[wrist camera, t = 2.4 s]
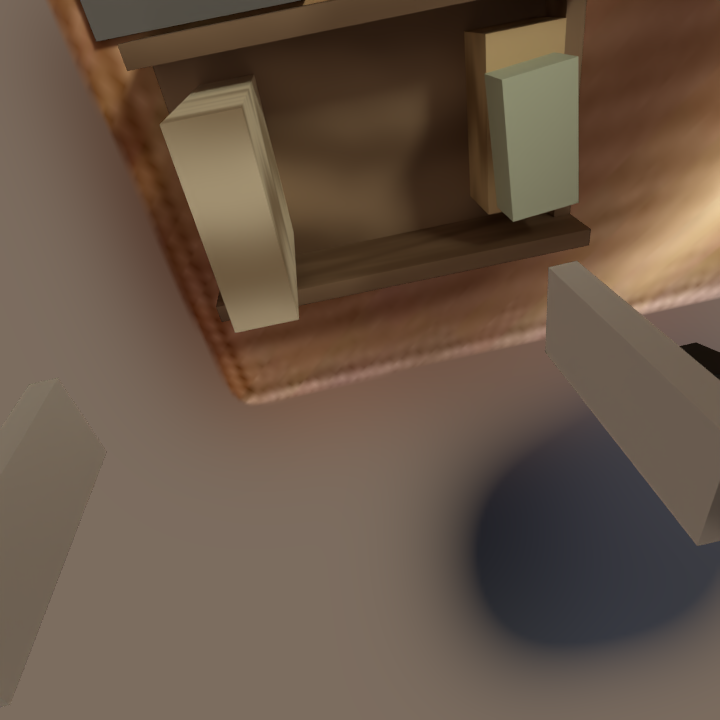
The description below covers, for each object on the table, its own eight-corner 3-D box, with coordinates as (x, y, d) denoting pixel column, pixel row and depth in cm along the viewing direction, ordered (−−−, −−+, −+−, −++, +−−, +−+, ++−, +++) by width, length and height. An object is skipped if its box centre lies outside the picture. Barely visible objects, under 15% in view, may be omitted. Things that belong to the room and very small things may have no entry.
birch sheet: (198, 85, 27) (159, 124, 18) (253, 74, 27) (241, 107, 18) (247, 242, 33) (235, 332, 24) (293, 233, 33) (299, 319, 24)
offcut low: (464, 31, 28) (485, 34, 25) (536, 16, 28) (566, 17, 25) (470, 196, 33) (488, 214, 30) (531, 183, 33) (555, 200, 30)
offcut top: (484, 73, 26) (501, 79, 24) (554, 52, 26) (578, 56, 23) (497, 207, 30) (513, 221, 28) (557, 188, 30) (578, 202, 28)
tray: (147, 37, 27) (117, 44, 22) (557, -46, 27) (620, -58, 22) (230, 275, 35) (221, 321, 30) (544, 210, 35) (589, 245, 30)
